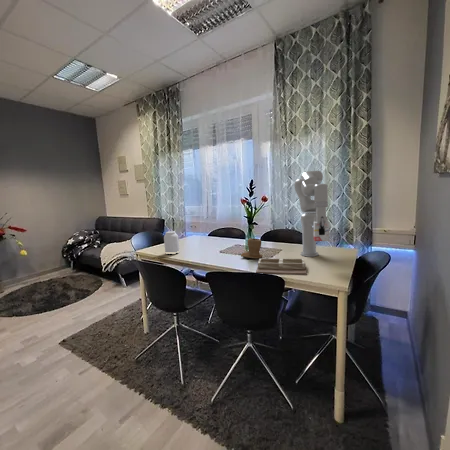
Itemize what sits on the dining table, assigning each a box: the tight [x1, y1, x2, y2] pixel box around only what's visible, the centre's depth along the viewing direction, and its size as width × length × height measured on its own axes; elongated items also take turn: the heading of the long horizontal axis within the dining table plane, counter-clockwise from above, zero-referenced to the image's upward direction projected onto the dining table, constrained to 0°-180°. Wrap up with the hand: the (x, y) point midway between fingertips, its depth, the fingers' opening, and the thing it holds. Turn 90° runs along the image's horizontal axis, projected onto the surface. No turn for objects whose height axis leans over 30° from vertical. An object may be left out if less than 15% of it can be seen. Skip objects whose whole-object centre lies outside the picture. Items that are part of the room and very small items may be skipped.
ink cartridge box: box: [313, 215, 330, 242], centre depth 147 cm, size 9×5×15 cm, turn 77°
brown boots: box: [240, 237, 263, 260], centre depth 182 cm, size 15×12×15 cm
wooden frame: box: [255, 258, 307, 276], centre depth 155 cm, size 24×30×4 cm
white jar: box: [163, 230, 180, 253], centre depth 212 cm, size 12×12×20 cm
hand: (321, 233), depth 147 cm, fingers closed on ink cartridge box, 5 cm apart
